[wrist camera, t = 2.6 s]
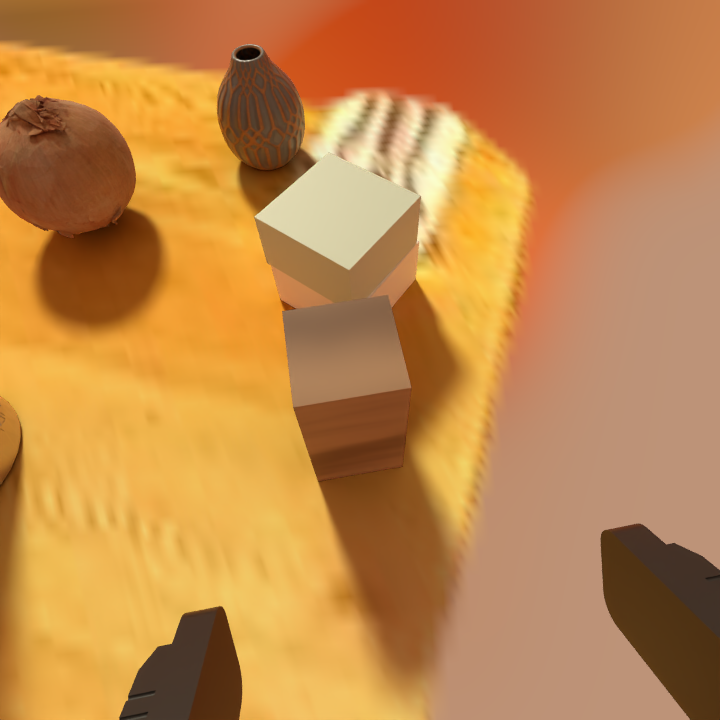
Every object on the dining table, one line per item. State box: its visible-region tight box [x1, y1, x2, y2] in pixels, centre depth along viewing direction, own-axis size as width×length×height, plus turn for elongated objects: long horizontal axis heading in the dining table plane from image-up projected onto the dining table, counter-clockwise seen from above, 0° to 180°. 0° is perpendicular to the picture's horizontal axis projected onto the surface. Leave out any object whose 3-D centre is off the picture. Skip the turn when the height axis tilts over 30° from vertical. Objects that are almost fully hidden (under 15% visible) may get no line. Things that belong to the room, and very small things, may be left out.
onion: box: [0, 95, 136, 238], centre depth 37 cm, size 10×9×10 cm
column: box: [282, 295, 411, 481], centre depth 27 cm, size 5×5×10 cm
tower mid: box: [254, 153, 421, 303], centre depth 32 cm, size 7×7×4 cm
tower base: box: [271, 240, 419, 309], centre depth 35 cm, size 7×7×4 cm
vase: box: [217, 44, 305, 170], centre depth 41 cm, size 7×7×9 cm
